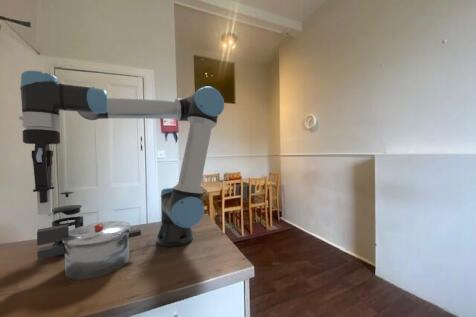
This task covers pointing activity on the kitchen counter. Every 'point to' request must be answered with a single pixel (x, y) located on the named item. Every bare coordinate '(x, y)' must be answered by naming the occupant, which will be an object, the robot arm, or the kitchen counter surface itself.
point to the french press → (68, 211)
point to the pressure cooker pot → (92, 256)
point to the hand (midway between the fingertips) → (45, 213)
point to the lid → (83, 233)
